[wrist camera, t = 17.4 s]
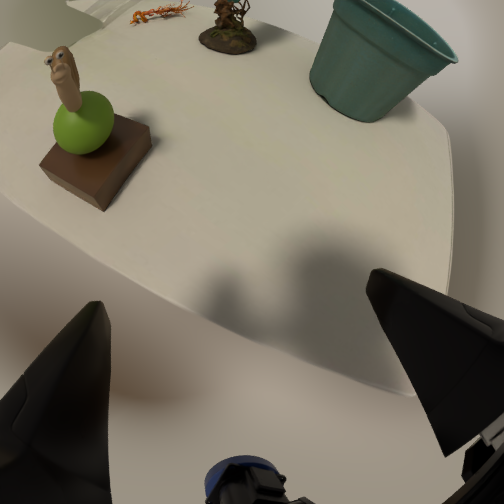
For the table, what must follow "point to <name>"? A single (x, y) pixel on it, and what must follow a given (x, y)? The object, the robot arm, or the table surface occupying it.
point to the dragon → (157, 12)
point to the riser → (100, 163)
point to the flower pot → (375, 57)
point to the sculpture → (229, 30)
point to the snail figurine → (78, 108)
